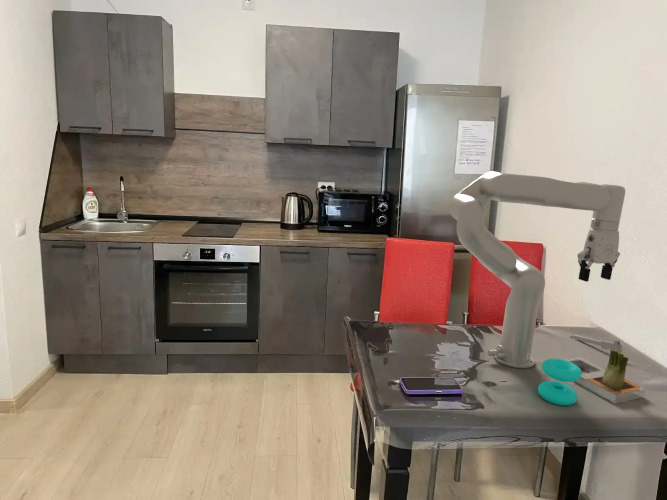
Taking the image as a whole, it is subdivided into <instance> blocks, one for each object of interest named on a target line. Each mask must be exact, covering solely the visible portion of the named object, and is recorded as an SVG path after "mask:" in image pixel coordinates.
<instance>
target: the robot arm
mask: <svg viewBox="0 0 667 500" xmlns="http://www.w3.org/2000/svg"><path fill="white" fill-rule="evenodd" d="M625 196H626V188H625V187H624V186H621V185H616V184H597V183H592V182H585V181H579V182H571V181H565V180H559V179H555V178H550V177H545V176H537V175H525V174H524V175H523V174H516V173H515V174H514V173H506V172H505V173H504V172H500V171H499V172H498V171H489V172H486V173H484V174H483V175H480V177H478V178H477V179H475V180H474V181H472V182H471V183H470V184H469V185H467V186H466V187H464V188H463V189H462V190H460V191H459V192H458V193H456V194H455V195H454V196H453V197H452V198H451V199H450V200H449V204H448V210H449V214H450V215H451V217H452V218H453V219H455V220H456V235H457V238H458V241H459V243H460V244H461V245H462V247H463V248H465V249H466V251H468V252H469V254H471V255H473V256H474V257H475V258H476V259H477V260H478V263H480V264H481V265H482V266H483V267H484V268H486V269H487V270H488V271H489V272H491V273H492V274H493V276H496V277H497V278H498V279H499V280H501V281H502V282H503V283H505V285H507V286H508V287H509V288H510V293H509V295H508V297H507V300H506V303H505V309H504V317H503V324H502V329H501V330H502V331H501V336H500V337H501V338H500V344H497V347H496V348H495V349H490V350H488V351H487V355H488V357H493V358H494V359H495V361H496V362H498V363H500V364H502V365H505V366H508V367H511V368H514V369H515V368H517V369H529V368H532V367H534V366H535V363H536V361H535V358H534V357H533V356H532V354H531V353H532V347H533V344H534V343H533V342H534V336H535V330H536V324H537V317H538V311H539V307H540V303H541V299H542V296H543V293H544V291H545V287H546V279H545V276H544V274H543V272H542V271H541V270H540V269H538V268H537V267H536V266H534V265H532V264H531V263H529V262H528V261H526V260H524V259H523V258H522V257H520V256H519V255H517V254H516V253H515V251H514V250H513V249H512V248H511V247H510V246H509V245H507V244H506V243H505V242H503V241H501V240H500V239H499V238H498V237H496V236H495V235H494V234H493V232H491V231H489V230H488V229H487V227H486V225H485V218H486V208H485V206H486V205H487V204H489V203H490V202H491V201H494V202H499V203H508V204H509V203H511V204H521V205H523V204H524V205H532V206H541V207H547V208H548V207H550V208H561V209H572V210H583V211H589V212H590V211H591V212H593V213H592V216H591V222H590V227H589V231H588V233H587V236H586V239H585V242H584V245H583V250H581V251H580V252H578V253H577V263H578V264H579V265H578V266H579V274H578V279H579V280H580V281H584V282H589V281H590V276H591V275H590V274H591V269H590V268H591V267H592V265H593V264H597V265H598V264H603V265H602V266H601V271H600V272H601V273H600V278H601V279H604V280H607V281H610V280H611V279H612V274H613V270H614V268H615V266H616V265H615V264H616V263H617V262H618V259H619V257H620V256H621V253H620V252H619V244H620V231H619V227H620V222H621V218H622V213H623V212H622V211H623V205H624V201H625Z"/></svg>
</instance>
